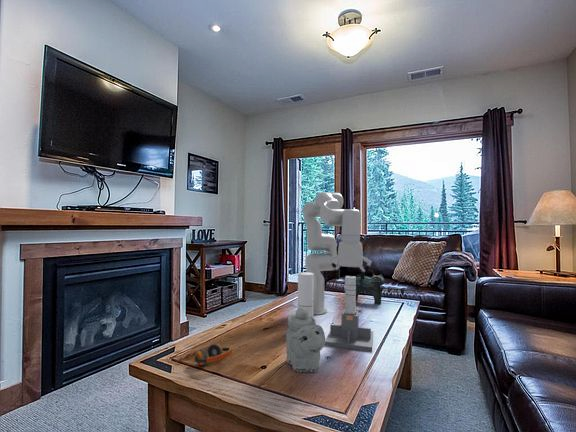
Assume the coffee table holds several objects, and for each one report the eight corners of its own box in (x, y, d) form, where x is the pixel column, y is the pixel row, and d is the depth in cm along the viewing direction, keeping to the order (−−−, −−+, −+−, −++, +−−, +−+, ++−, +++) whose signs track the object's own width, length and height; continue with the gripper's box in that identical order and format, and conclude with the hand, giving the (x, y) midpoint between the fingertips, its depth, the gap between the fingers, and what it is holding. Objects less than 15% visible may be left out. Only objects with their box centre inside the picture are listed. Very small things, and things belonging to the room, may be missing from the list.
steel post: (344, 321, 126) (345, 277, 127) (345, 318, 130) (346, 275, 131) (354, 322, 125) (355, 278, 126) (355, 319, 129) (355, 276, 129)
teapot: (319, 383, 92) (319, 320, 93) (273, 374, 98) (274, 314, 98) (332, 361, 108) (332, 307, 108) (291, 354, 113) (292, 302, 114)
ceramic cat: (384, 303, 187) (384, 270, 187) (381, 305, 181) (381, 271, 182) (353, 299, 198) (353, 267, 198) (349, 301, 192) (349, 268, 192)
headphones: (206, 339, 120) (242, 338, 108) (208, 353, 119) (245, 354, 108) (167, 354, 106) (204, 355, 95) (169, 370, 105) (207, 373, 94)
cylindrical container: (315, 327, 143) (315, 273, 143) (309, 331, 136) (310, 275, 137) (301, 324, 146) (301, 271, 146) (295, 329, 139) (295, 274, 140)
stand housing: (324, 345, 121) (325, 317, 122) (331, 330, 139) (331, 305, 139) (372, 351, 116) (372, 322, 117) (373, 334, 133) (373, 309, 134)
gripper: (328, 238, 127) (327, 280, 127) (371, 240, 123) (371, 283, 123) (331, 237, 135) (330, 276, 135) (372, 239, 130) (371, 279, 130)
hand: (349, 280), depth 129 cm, fingers open, 9 cm apart
